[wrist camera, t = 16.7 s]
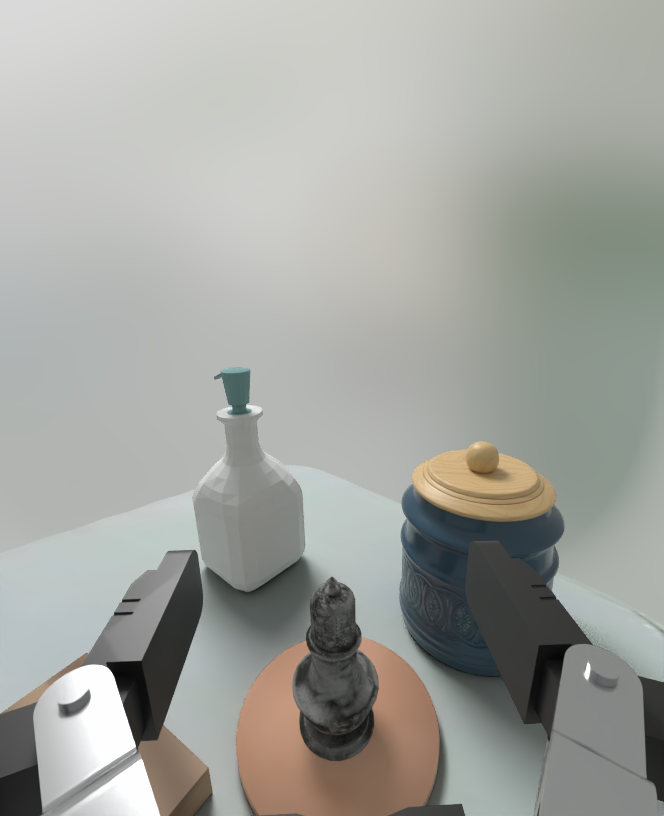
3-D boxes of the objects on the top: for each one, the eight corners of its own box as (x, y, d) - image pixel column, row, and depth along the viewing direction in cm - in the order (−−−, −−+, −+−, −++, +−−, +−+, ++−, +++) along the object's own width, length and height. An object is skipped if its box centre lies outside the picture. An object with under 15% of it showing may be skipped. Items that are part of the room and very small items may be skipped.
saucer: (380, 938, 19) (380, 926, 19) (193, 760, 27) (191, 749, 26) (465, 697, 30) (466, 687, 30) (316, 619, 38) (315, 611, 38)
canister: (544, 591, 41) (568, 427, 35) (548, 708, 29) (585, 494, 24) (417, 558, 46) (423, 412, 41) (380, 646, 35) (381, 461, 30)
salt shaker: (393, 745, 26) (397, 597, 23) (308, 782, 25) (297, 627, 21) (358, 668, 32) (357, 539, 28) (286, 694, 30) (274, 559, 26)
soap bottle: (261, 528, 53) (245, 357, 46) (313, 558, 46) (303, 365, 40) (195, 565, 46) (165, 371, 39) (245, 607, 40) (220, 383, 33)
